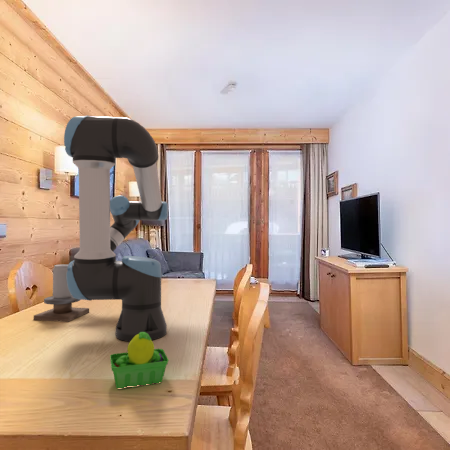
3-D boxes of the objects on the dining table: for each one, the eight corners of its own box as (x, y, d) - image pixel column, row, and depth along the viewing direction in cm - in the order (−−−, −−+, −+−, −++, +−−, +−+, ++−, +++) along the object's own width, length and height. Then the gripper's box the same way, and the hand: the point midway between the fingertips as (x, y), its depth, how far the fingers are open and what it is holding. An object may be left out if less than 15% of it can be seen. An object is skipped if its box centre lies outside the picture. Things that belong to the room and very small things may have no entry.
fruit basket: (162, 370, 75) (162, 320, 75) (170, 387, 67) (170, 332, 67) (109, 377, 71) (110, 325, 71) (111, 397, 63) (111, 338, 63)
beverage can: (75, 296, 123) (76, 264, 123) (65, 300, 116) (66, 266, 116) (59, 295, 123) (59, 263, 123) (48, 299, 117) (49, 265, 117)
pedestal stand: (67, 321, 112) (68, 302, 112) (33, 319, 114) (33, 301, 114) (89, 312, 125) (89, 295, 125) (57, 310, 127) (58, 293, 127)
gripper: (132, 249, 127) (93, 294, 116) (101, 246, 144) (65, 284, 133) (119, 235, 123) (78, 280, 112) (89, 234, 140) (51, 273, 129)
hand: (71, 283), depth 122 cm, fingers open, 13 cm apart
